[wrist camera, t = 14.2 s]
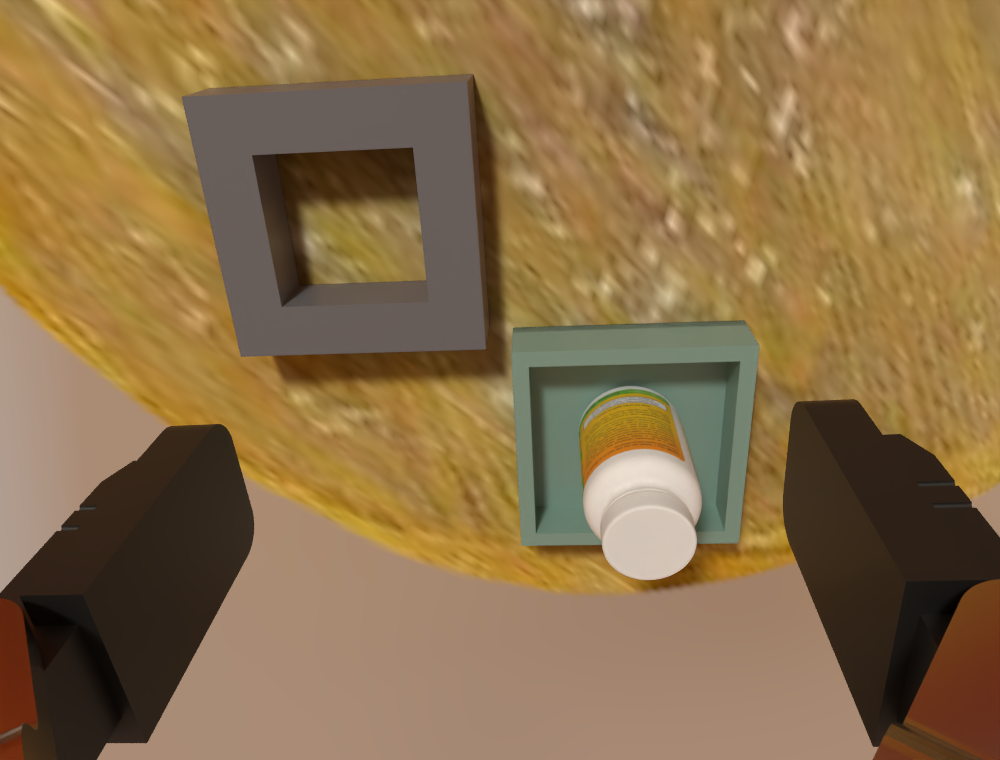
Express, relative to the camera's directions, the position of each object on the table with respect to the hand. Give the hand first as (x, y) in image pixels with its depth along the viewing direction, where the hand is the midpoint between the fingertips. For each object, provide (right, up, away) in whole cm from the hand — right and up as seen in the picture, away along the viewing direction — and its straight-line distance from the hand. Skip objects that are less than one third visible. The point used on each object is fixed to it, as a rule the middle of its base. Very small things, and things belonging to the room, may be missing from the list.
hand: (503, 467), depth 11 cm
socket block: (-7, +9, +26) cm, 29 cm away
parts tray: (+7, -1, +31) cm, 31 cm away
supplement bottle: (+7, -1, +30) cm, 31 cm away
